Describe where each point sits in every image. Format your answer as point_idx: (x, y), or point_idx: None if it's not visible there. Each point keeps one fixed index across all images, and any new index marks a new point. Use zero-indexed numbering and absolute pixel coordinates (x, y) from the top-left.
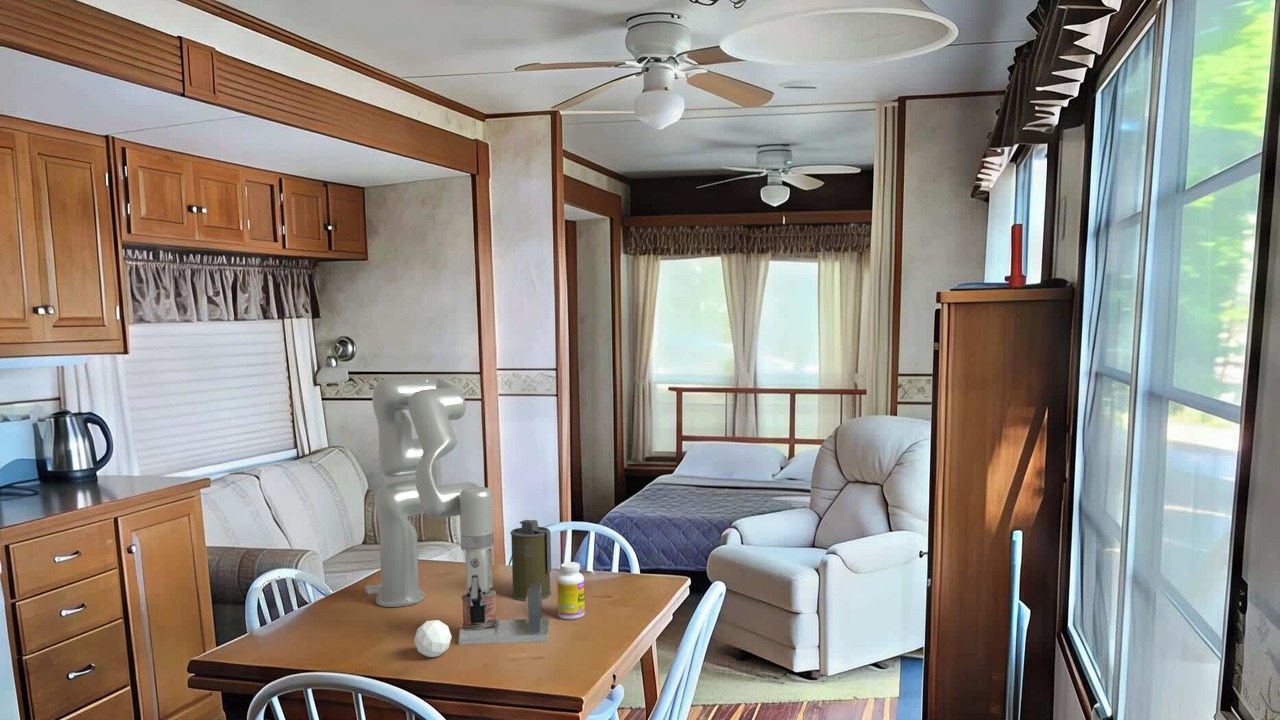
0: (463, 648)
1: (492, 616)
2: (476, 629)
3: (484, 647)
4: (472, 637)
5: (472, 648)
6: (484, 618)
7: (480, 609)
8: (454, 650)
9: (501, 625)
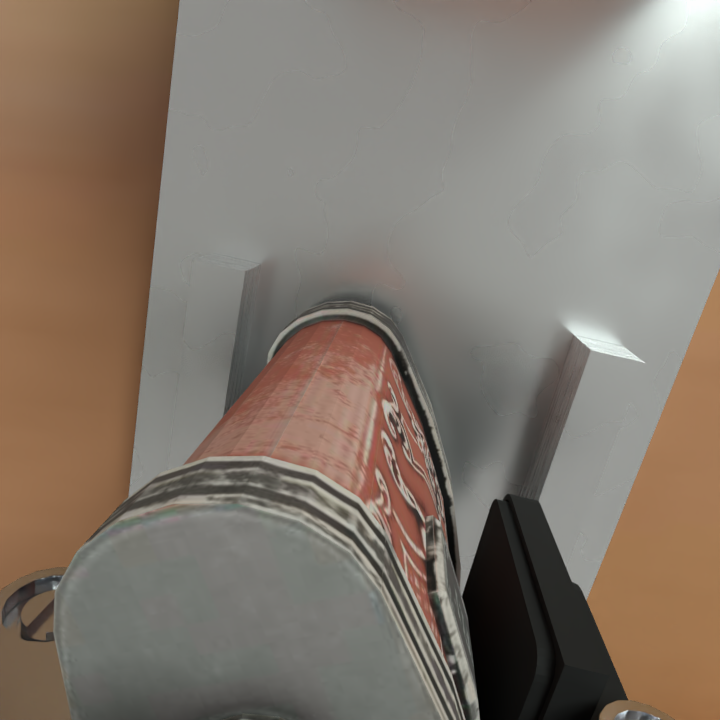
0: (647, 598)
1: (396, 388)
2: None
3: (714, 438)
4: (596, 560)
5: (685, 535)
6: (546, 523)
7: (615, 689)
8: (658, 662)
9: (341, 240)
